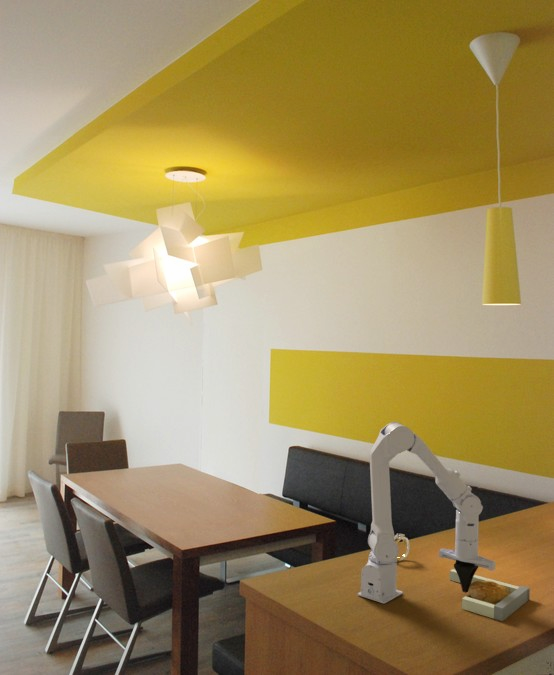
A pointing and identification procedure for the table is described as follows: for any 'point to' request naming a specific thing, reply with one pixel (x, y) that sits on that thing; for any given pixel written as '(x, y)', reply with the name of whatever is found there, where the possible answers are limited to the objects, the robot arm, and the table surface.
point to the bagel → (488, 591)
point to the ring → (405, 545)
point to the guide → (500, 609)
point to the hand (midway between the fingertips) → (465, 591)
